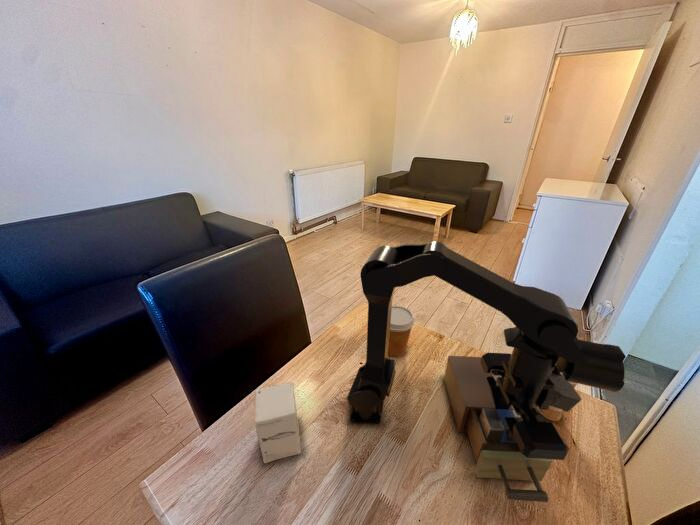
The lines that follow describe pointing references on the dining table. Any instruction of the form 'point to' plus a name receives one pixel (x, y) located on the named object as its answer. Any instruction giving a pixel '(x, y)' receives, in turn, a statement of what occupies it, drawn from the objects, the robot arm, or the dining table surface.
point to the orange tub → (399, 330)
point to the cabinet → (467, 387)
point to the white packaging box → (277, 422)
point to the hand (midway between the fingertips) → (505, 428)
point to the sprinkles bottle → (553, 409)
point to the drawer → (505, 462)
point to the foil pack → (495, 424)
